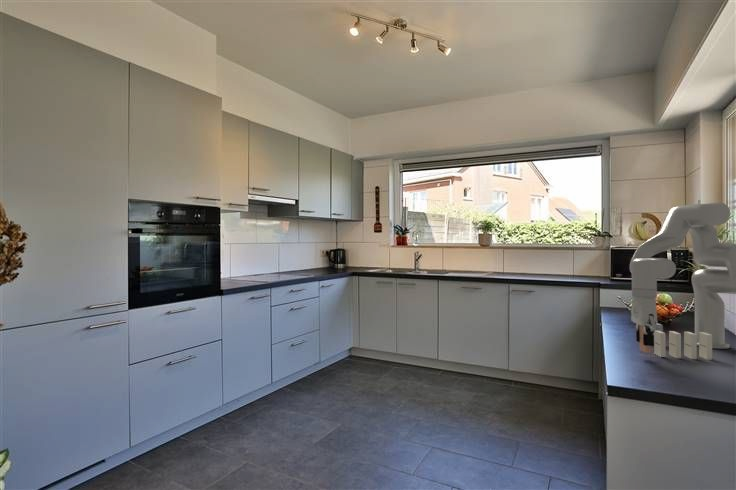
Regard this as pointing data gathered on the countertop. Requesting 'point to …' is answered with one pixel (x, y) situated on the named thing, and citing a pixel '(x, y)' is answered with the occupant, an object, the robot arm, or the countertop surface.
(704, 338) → the domino
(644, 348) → the domino
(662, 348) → the domino
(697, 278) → the robot arm
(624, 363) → the countertop surface
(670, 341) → the domino
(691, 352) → the domino
